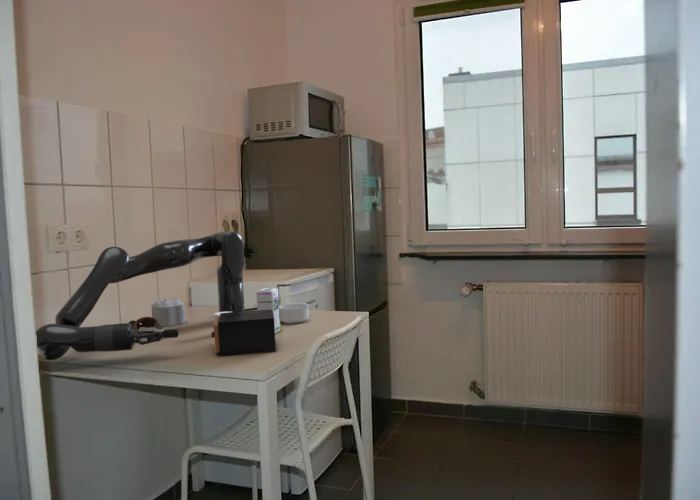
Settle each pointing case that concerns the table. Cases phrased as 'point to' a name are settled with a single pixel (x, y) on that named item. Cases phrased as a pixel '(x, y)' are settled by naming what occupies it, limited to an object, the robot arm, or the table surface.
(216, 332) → the orange pull-out drawer
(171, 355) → the table surface
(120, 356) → the table surface
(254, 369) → the table surface
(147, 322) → the brown hollow curved piece
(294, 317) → the saucepan
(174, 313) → the lumpy-topped squat cylinder
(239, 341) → the small drawer unit
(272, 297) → the syrup box
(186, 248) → the robot arm
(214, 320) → the white tapered cup
